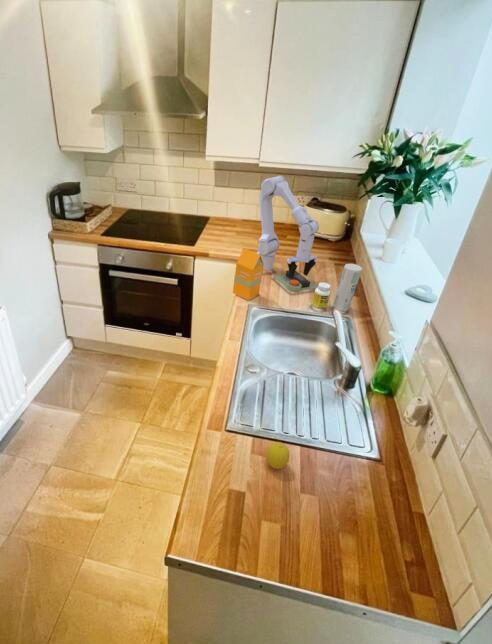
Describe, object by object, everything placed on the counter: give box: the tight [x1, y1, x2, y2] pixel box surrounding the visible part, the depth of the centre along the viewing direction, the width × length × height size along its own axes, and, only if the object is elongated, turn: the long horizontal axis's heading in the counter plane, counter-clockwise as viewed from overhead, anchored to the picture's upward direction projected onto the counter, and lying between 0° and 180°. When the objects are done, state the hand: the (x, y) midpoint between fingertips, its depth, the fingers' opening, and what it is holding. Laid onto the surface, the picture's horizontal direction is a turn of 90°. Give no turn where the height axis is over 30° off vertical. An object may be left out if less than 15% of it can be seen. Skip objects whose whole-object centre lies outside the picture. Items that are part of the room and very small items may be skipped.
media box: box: [272, 273, 318, 293], centre depth 184 cm, size 16×14×4 cm
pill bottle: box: [311, 282, 332, 310], centre depth 165 cm, size 6×6×11 cm
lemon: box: [265, 441, 290, 470], centre depth 99 cm, size 6×6×8 cm
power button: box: [290, 279, 299, 286], centre depth 178 cm, size 4×4×2 cm
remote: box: [285, 269, 311, 288], centre depth 185 cm, size 13×4×3 cm, turn 19°
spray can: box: [332, 263, 363, 312], centre depth 162 cm, size 6×6×20 cm
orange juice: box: [232, 248, 264, 301], centre depth 171 cm, size 8×9×20 cm
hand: (298, 275), depth 184 cm, fingers open, 7 cm apart
